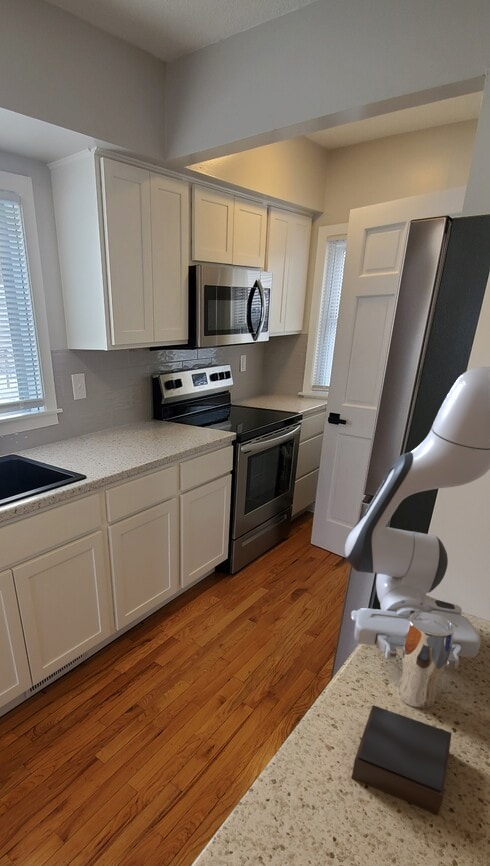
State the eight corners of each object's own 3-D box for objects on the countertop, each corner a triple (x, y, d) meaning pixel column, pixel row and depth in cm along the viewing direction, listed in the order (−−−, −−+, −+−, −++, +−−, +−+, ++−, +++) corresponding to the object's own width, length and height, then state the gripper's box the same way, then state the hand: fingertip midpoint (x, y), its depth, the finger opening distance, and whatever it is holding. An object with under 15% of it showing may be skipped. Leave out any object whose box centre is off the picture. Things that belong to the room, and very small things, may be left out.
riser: (369, 722, 78) (372, 703, 77) (446, 750, 73) (452, 731, 71) (351, 778, 69) (354, 757, 68) (438, 815, 64) (444, 794, 62)
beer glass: (438, 688, 85) (456, 616, 79) (438, 715, 79) (457, 640, 73) (394, 677, 88) (408, 606, 82) (391, 702, 82) (406, 629, 76)
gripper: (351, 594, 95) (358, 636, 83) (469, 606, 90) (494, 653, 77) (348, 621, 97) (353, 666, 85) (462, 634, 92) (485, 684, 80)
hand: (422, 660), depth 81 cm, fingers open, 8 cm apart
